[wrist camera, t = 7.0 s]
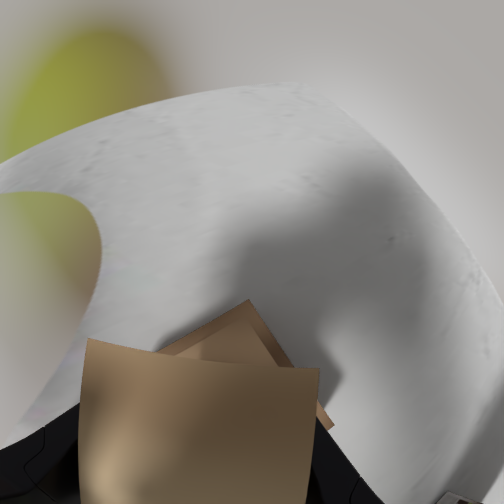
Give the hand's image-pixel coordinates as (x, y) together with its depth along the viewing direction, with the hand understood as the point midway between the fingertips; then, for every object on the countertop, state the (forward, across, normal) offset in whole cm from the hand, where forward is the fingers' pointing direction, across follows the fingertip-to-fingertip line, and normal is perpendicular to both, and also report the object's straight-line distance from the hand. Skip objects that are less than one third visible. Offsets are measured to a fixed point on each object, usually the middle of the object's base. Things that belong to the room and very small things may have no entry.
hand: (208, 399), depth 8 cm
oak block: (+4, 0, +6) cm, 7 cm away
